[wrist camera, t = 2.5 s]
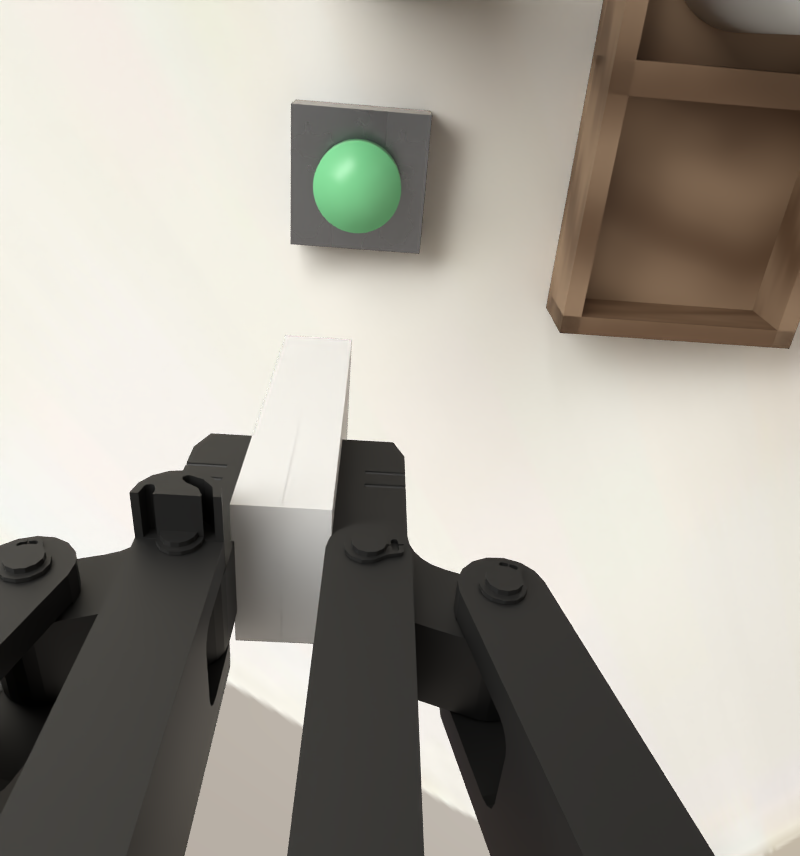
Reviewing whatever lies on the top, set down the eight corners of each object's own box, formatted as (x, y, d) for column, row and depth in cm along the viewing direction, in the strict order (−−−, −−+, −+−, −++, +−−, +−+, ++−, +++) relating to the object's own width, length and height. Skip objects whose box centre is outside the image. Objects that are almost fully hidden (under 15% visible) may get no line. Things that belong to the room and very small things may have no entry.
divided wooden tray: (652, -262, 31) (685, -298, 27) (945, -230, 31) (1014, -261, 28) (546, 307, 43) (559, 332, 40) (757, 322, 44) (789, 348, 40)
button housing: (295, 99, 37) (291, 103, 36) (429, 110, 38) (431, 115, 36) (294, 234, 41) (290, 244, 39) (418, 243, 41) (419, 253, 40)
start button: (319, 129, 38) (313, 138, 35) (403, 136, 38) (404, 146, 35) (317, 215, 40) (312, 229, 37) (397, 221, 40) (397, 236, 37)
